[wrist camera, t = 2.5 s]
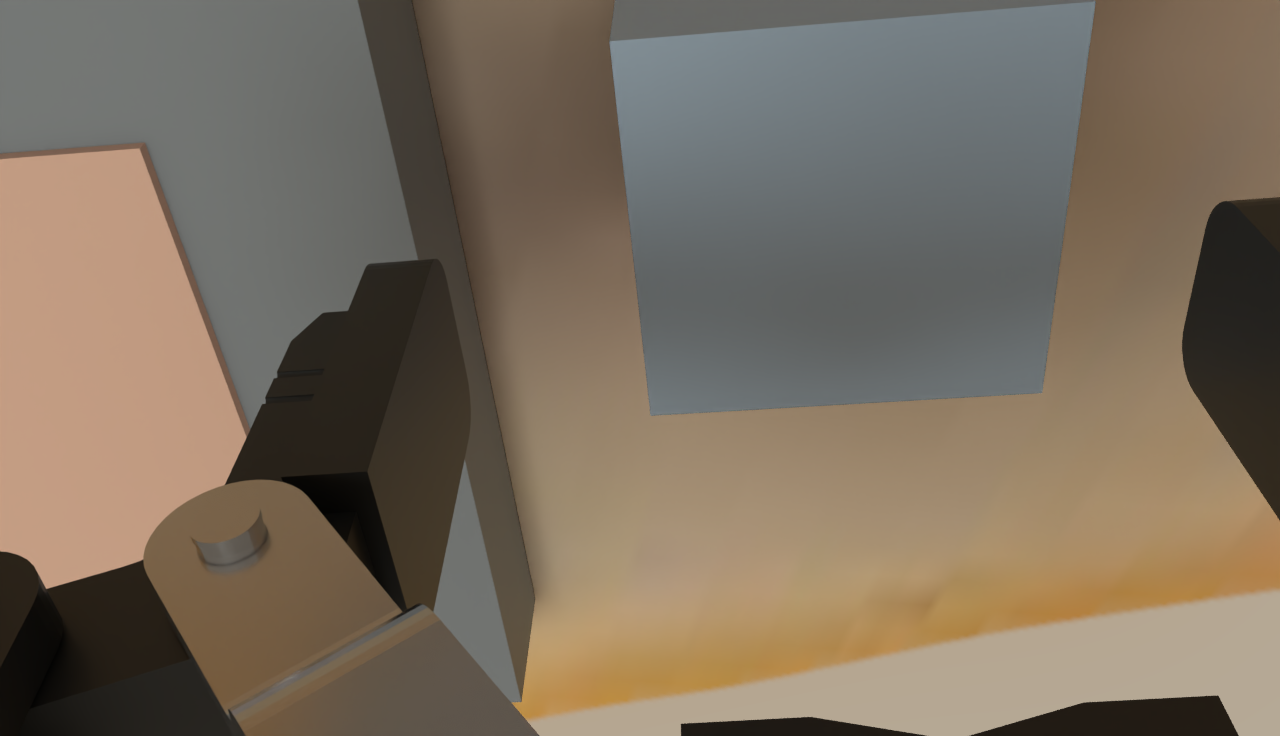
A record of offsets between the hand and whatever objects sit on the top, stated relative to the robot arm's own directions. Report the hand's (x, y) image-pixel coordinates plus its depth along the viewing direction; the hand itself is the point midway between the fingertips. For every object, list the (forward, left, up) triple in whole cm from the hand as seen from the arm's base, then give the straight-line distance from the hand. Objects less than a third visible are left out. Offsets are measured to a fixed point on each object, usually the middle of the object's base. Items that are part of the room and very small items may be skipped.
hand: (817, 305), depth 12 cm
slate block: (0, 0, -7) cm, 7 cm away
